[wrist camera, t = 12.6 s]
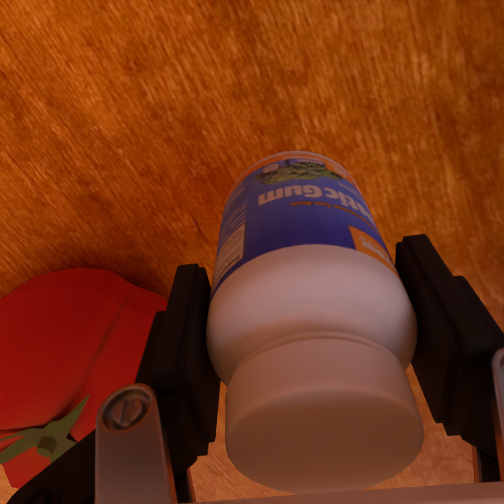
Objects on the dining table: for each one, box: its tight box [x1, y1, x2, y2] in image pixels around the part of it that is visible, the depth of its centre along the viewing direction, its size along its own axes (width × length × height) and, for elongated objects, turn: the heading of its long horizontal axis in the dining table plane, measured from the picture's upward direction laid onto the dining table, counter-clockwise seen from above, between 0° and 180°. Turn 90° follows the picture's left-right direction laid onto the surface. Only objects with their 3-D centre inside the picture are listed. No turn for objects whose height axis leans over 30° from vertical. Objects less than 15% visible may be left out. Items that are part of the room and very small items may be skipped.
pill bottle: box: [206, 151, 424, 495], centre depth 12 cm, size 5×5×10 cm
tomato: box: [0, 267, 168, 489], centre depth 25 cm, size 13×14×12 cm
